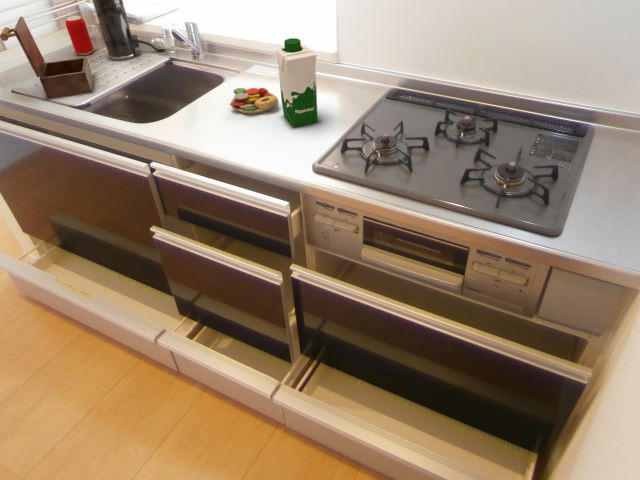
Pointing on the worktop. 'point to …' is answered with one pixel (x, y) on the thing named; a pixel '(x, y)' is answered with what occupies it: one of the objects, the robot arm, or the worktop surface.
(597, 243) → the worktop surface
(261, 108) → the toy food set
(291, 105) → the soya milk
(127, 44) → the robot arm
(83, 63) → the chest
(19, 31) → the lid
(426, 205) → the worktop surface
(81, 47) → the beverage can
